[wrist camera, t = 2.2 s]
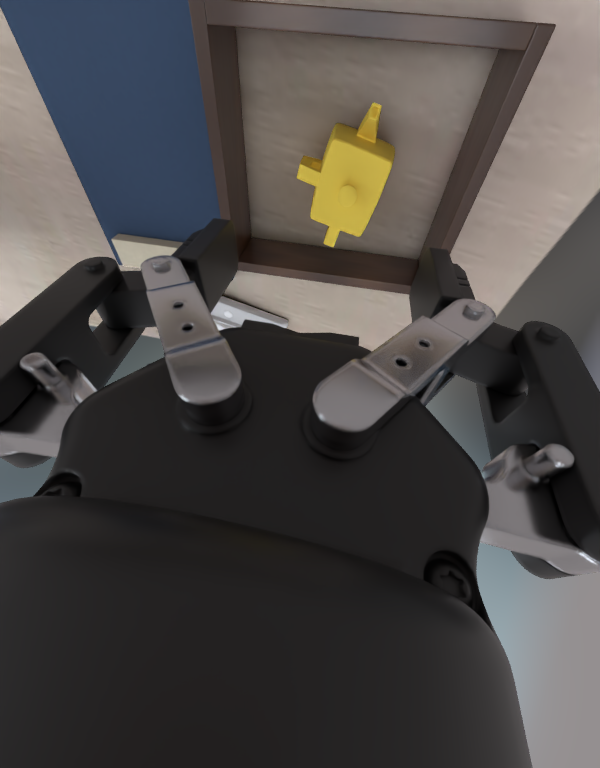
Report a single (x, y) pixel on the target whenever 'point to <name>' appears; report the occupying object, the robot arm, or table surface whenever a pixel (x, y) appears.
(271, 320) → the light switch
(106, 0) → the bed mat
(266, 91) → the table surface
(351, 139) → the teapot
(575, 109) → the table surface
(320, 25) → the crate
